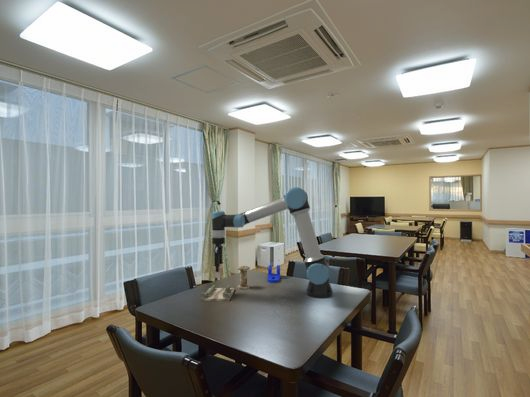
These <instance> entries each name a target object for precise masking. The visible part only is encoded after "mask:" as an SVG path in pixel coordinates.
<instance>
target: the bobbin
mask: <svg viewBox="0 0 530 397" xmlns="http://www.w3.org/2000/svg"><path fill="white" fill-rule="evenodd" d="M236 268H237V271H239V275H240V276H239V277H240V278H239V280H240V281H239V282H240V283H239V285H237V289H238V290H249V289H250V287H251V286H250V284H248V271H249V270H250V269H251V267H250V266H247V265H242V266H240V265H239V266H238V267H236Z"/></svg>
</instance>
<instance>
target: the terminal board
mask: <svg viewBox="0 0 530 397" xmlns="http://www.w3.org/2000/svg"><path fill="white" fill-rule="evenodd" d="M235 291H236V287H231V285H230V284H227V286H226V287H216V284H212V286H211V287H209V288H208V290H206V292H201V298H200V300H201V302H202V301H203V302H204V301H205V302H206V301H207V302H215V301H216V302H230V300H231V298H232V296H233V294H234V292H235Z"/></svg>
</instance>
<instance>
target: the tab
mask: <svg viewBox="0 0 530 397" xmlns="http://www.w3.org/2000/svg"><path fill="white" fill-rule="evenodd" d="M223 277H224V265H222V266H221V265H220V277H215V266H214V265H213V267H212V278H215V279H216V278H217V279H219V278H220V279H221V278H223Z"/></svg>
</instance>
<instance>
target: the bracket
mask: <svg viewBox="0 0 530 397" xmlns="http://www.w3.org/2000/svg"><path fill="white" fill-rule="evenodd" d="M272 267H273V266H272V264H270V265H268V267H267V268H268V269H267V278H266V279H267V280H266V282H267V283H268V284H270V283H271V284H278V283H280V279H281V265H280V264H279V265H276V273H273V268H272ZM277 282H278V283H277Z"/></svg>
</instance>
